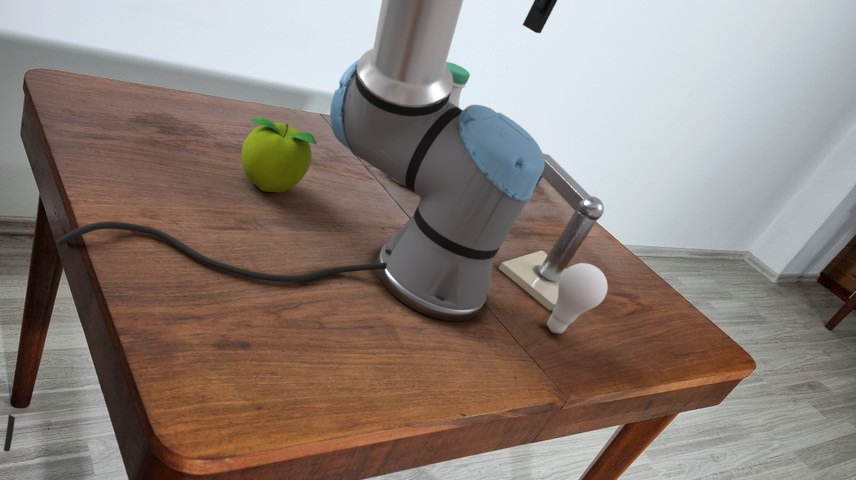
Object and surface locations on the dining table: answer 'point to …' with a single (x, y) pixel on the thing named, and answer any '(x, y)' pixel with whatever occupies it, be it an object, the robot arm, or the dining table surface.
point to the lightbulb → (577, 295)
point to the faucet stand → (532, 277)
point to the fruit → (276, 155)
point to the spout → (579, 224)
